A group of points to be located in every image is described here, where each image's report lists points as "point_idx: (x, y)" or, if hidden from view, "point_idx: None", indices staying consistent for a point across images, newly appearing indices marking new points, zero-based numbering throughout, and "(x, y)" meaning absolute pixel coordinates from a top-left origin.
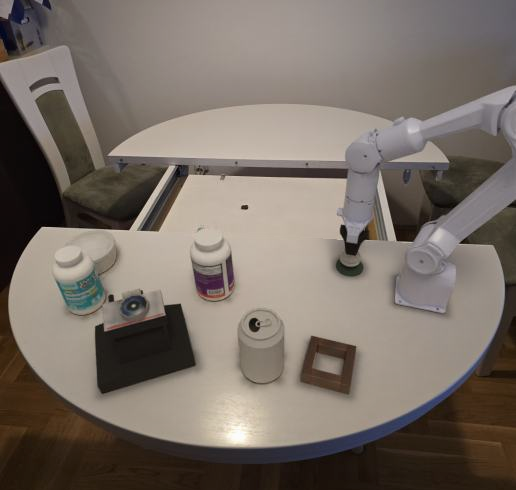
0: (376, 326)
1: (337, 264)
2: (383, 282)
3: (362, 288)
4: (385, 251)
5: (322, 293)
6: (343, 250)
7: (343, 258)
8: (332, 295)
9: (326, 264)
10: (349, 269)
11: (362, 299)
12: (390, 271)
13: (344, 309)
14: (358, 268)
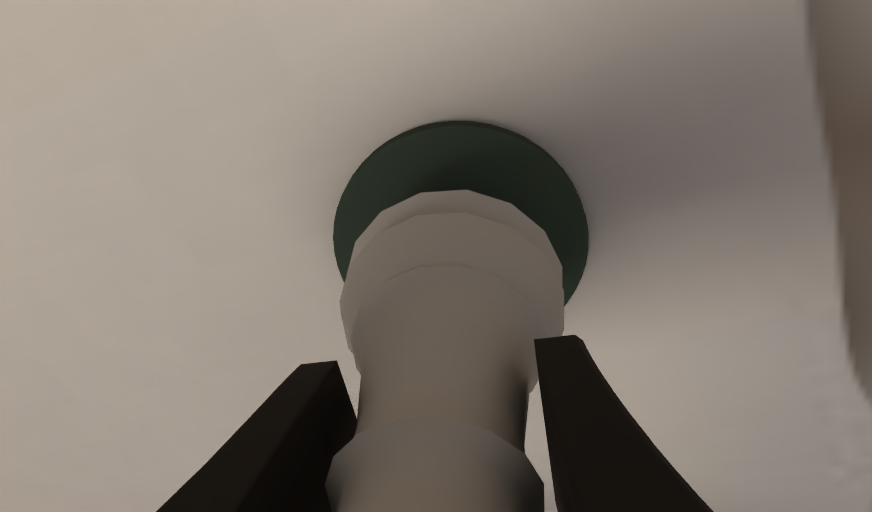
0: (58, 486)
1: (424, 146)
2: None
3: (281, 377)
4: (769, 433)
5: (29, 138)
6: (435, 271)
7: (352, 275)
8: (72, 217)
9: (393, 29)
10: None
11: (186, 396)
12: None
13: (25, 325)
14: None
